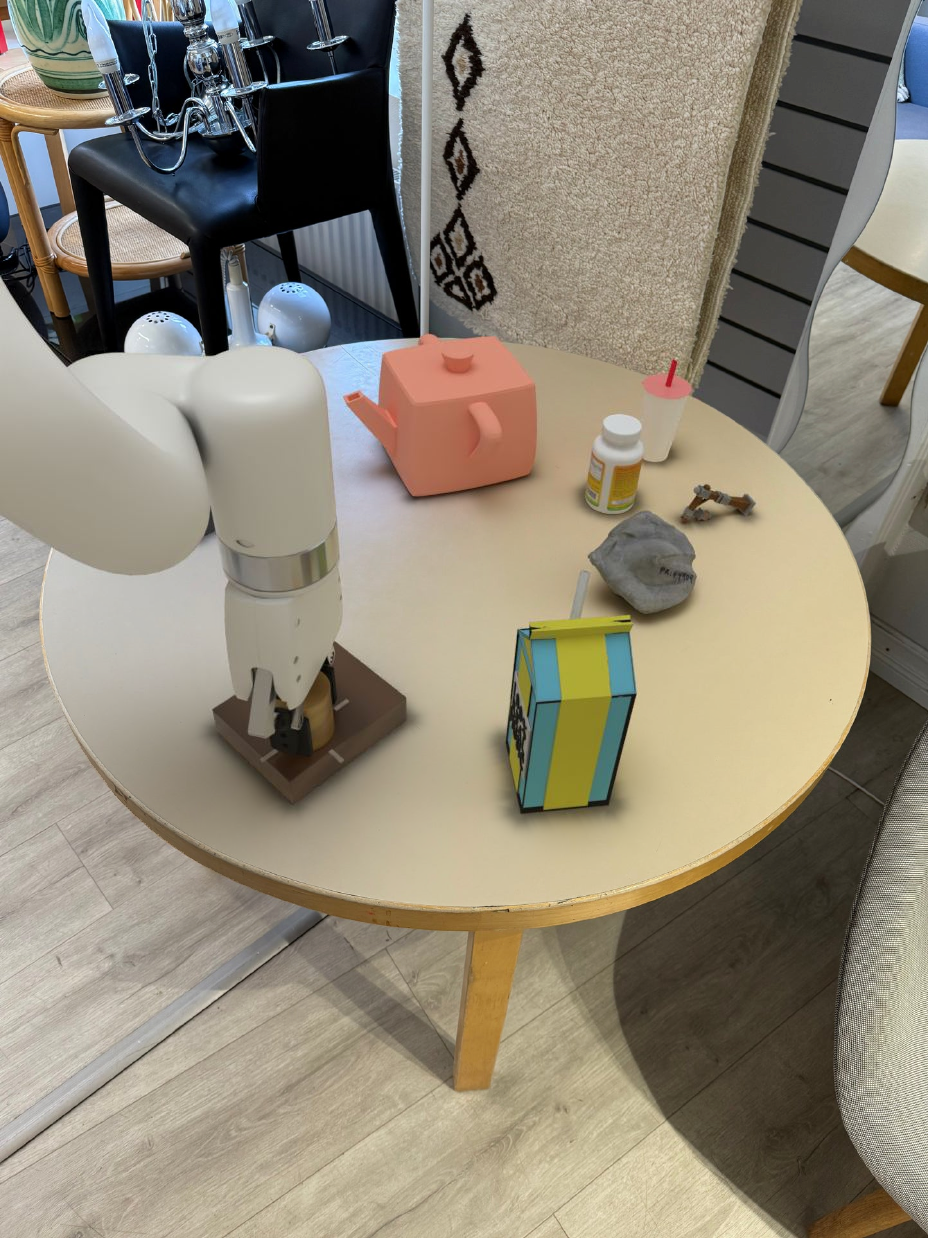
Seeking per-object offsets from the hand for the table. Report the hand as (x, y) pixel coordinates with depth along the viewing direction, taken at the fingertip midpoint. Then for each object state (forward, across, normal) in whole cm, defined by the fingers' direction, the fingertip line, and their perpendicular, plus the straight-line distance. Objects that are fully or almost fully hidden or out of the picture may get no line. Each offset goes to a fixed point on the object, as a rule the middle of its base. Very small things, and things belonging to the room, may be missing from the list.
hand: (305, 722), depth 70 cm
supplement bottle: (+4, -41, +19) cm, 45 cm away
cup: (+4, -52, +23) cm, 57 cm away
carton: (+4, -4, +20) cm, 20 cm away
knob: (+1, 0, 0) cm, 1 cm away
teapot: (+4, -42, -1) cm, 42 cm away
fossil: (+4, -27, +24) cm, 36 cm away
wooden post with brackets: (+4, -41, +31) cm, 51 cm away
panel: (+4, -3, -1) cm, 5 cm away
